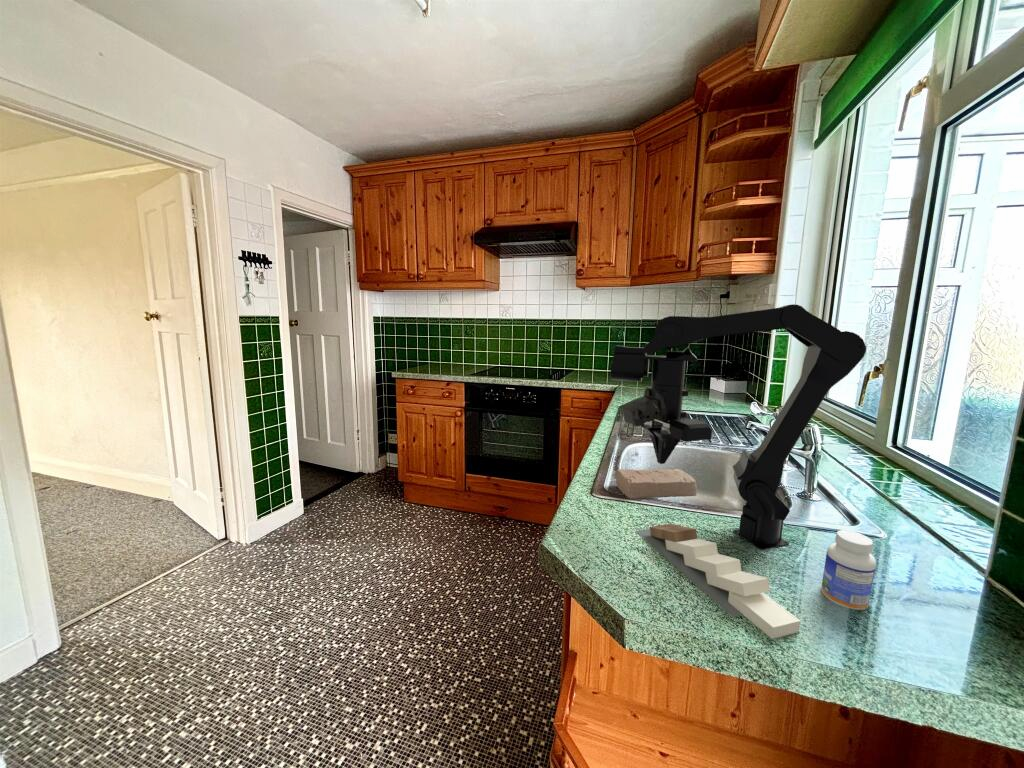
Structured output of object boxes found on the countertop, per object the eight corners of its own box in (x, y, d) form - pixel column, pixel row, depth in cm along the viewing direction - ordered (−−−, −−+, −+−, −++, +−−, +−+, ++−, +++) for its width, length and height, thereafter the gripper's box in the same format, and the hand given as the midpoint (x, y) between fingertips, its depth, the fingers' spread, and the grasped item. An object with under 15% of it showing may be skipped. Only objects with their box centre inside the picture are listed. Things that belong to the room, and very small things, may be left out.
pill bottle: (821, 582, 63) (830, 523, 61) (868, 597, 59) (878, 535, 58) (819, 600, 58) (828, 537, 57) (869, 618, 55) (880, 552, 53)
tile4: (729, 567, 63) (768, 578, 56) (731, 579, 62) (770, 590, 56) (705, 572, 61) (742, 583, 55) (707, 583, 61) (744, 596, 55)
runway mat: (671, 527, 78) (671, 525, 78) (778, 608, 57) (779, 605, 57) (634, 532, 76) (634, 530, 76) (732, 619, 54) (732, 616, 54)
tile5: (754, 586, 58) (800, 620, 52) (753, 596, 58) (799, 632, 52) (729, 591, 57) (773, 627, 50) (728, 601, 57) (771, 638, 51)
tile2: (686, 536, 72) (716, 543, 65) (688, 545, 71) (717, 553, 65) (665, 539, 70) (693, 546, 64) (666, 549, 70) (694, 557, 64)
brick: (678, 484, 100) (680, 465, 99) (698, 499, 92) (699, 479, 91) (613, 487, 98) (614, 468, 97) (628, 502, 90) (629, 482, 89)
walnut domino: (669, 523, 76) (696, 528, 69) (671, 532, 76) (697, 538, 69) (649, 526, 75) (674, 532, 68) (650, 535, 74) (675, 542, 68)
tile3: (705, 550, 67) (739, 559, 61) (707, 560, 67) (741, 571, 60) (683, 554, 66) (715, 564, 59) (684, 564, 66) (717, 575, 59)
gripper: (604, 377, 83) (600, 451, 86) (662, 394, 65) (655, 486, 68) (651, 376, 86) (646, 447, 89) (718, 391, 69) (709, 479, 71)
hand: (661, 463), depth 79 cm, fingers closed
